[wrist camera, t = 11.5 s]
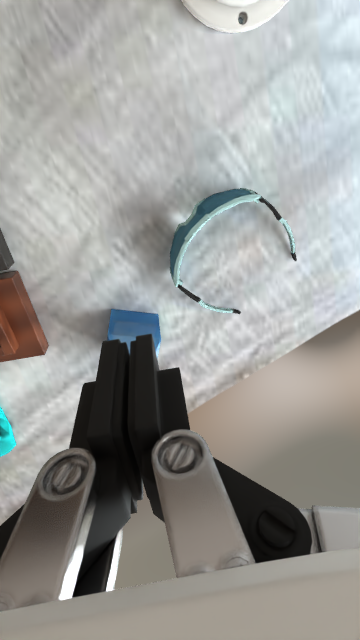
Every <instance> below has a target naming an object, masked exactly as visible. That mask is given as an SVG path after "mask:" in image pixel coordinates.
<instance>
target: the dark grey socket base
mask: <svg viewBox="0 0 360 640" xmlns="http://www.w3.org/2000/svg"><path fill="white" fill-rule="evenodd" d="M13 264H14V260H13V258H12V256H11V253H10V251H9V248H8V246H7V244H6V241H5V239H4V236H3V234H2V231H1V229H0V271H1V270H7V269H9V268H10V267H11V266H12V265H13Z"/></svg>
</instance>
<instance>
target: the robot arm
mask: <svg viewBox="0 0 360 640" xmlns="http://www.w3.org/2000/svg"><path fill="white" fill-rule="evenodd" d="M181 1H182V3H183V4H184V5H185V7H186V8H187V9H188V10H189V11H190V12H191V14H192V15H193V16H194V17H195V18H197V19H198V20H199V21H201V22H202V23H203V24H204V25H206V26H208V27H210V28H213V29H215V30H217V31H221V32H227V33H240V32H246V31H249V30H252V29H255V28H257V27H259V26H260V25H262V24H264V23H265V22H267V21H268V20H270V19H271V18H272V17H273V16H274V15H276V14H277V13H278V12H279V11H280V10H281V9H282V7H283V6H284V5H285V4H286V3H287V2H288V1H289V0H181ZM239 17H240V18H242V20H243V22H242V24H240V23H239V22H238V18H239ZM143 484H144V487H145V490H146V494H147V497H148V498H149V500H150V504H151V507H152V510H153V513H154V515H156V516H157V517H158V518H159V519H161V520H162V521H163V522H164V523H165V525H166V530H167V535H168V540H169V544H170V549H171V554H172V558H173V563H174V568H175V572H176V577H177V578H175V579H170V580H164V581H159V582H153V583H149V584H143V585H138V586H132V587H127V588H123V589H116V590H114V584H115V578H116V573H117V567H118V561H119V555H120V549H121V544H122V537H123V529H122V528H123V526H124V525H125V524H126V523H127V522H128V520H129V519H130V516H131V514H132V513H137V500H142V499H143ZM0 640H360V508H344V507H328V506H312V509H298V508H296V507H295V506H294V505H292V504H291V503H289V502H288V501H286V500H285V499H283V498H281V497H280V496H278V495H276V494H275V493H273V492H271V491H269V490H268V489H266V488H264V487H262V486H261V485H259V484H258V483H256V482H254V481H252V480H251V479H249V478H247V477H246V476H244V475H242V474H241V473H239V472H237V471H235V470H234V469H232V468H230V467H229V466H227V465H225V464H224V463H222V462H220V461H219V460H217V459H215V458H213V457H212V455H211V453H210V450H209V448H208V445H207V443H206V442H205V440H204V439H203V437H201V436H200V435H199V434H197V433H195V432H193V431H190V426H189V421H188V415H187V409H186V403H185V397H184V392H183V386H182V380H181V374H180V369H179V367H178V368H172V369H166V370H160V371H159V366H158V361H157V356H156V351H155V346H154V341H153V336H152V334H146V335H140V336H136V340H135V341H131V342H130V354H129V350H128V346H127V343H126V342H123V343H121V341H120V339H115V340H109V341H103V343H102V348H101V354H100V360H99V366H98V371H97V377H96V381H94V382H88V383H85V384H84V385H83V387H82V392H81V396H80V401H79V405H78V410H77V414H76V419H75V424H74V428H73V433H72V437H71V442H70V447H69V449H66V450H64V451H61V452H59V453H57V454H56V455H54V456H53V457H52V458H50V459H49V460H48V461H47V462H46V463H45V464H44V465H43V467H42V469H41V470H40V472H39V474H38V476H37V478H36V480H35V482H34V485H33V487H32V489H31V491H30V494H29V496H28V498H27V500H26V503H25V504H24V505H23V506H22V507H21V508H20V509H18V510H17V511H16V512H15V513H14V514H13V515H12V516H11V517H10V518H8V519H7V520H6V521H5V522H4V523H3V524H2V525H1V526H0Z"/></svg>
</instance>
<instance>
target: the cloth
mask: <svg viewBox="0 0 360 640" xmlns="http://www.w3.org/2000/svg"><path fill="white" fill-rule="evenodd" d="M15 445H16V442H15V439H14V436H13V432H12V428H11V425H10V423H9V422H8V420H7V418H6V416H5V414H4V412H3V410H2V408H1V407H0V457H1V456H3V455H5V454H7V453H9V452H10V451H11V450H12V449H13V448H14V447H15Z"/></svg>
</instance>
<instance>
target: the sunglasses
mask: <svg viewBox="0 0 360 640" xmlns="http://www.w3.org/2000/svg"><path fill="white" fill-rule="evenodd" d="M251 201H255V202H256V203H257V204H258V202H259V201H260V202H262V203H265V204H266V205H267V206H268V207H269V208H270V209H271V211H272V212H273V213H274V215H275V217H276V219H277V220H278V221H279V222H281V223H282V224H283V225H284V227H285V229H286V231H287V233H288V236H289V239H290V247H291V254H292V258H293V259H294V260H295V261H296V260H297V259H296V254H295V243H294V239H293V235H292V231H291V229H290V227H289V225H288V223H287V221H286V220H284V219H283V218H282V217H281V216H280V215H279V213H278V212H277V211H276V209H275V208H274V207H273V206H272V205H271V204H270V203H269V202H268V201H267V200H265V199H264V198H263V197H261V195H259V194H257V193H256V192H255V191H252V190H248V189H244V188H240V189H233V190H229V191H225V192H221V193H217V194H214V195H212V196H210V197H208V198H206V199H203V200H202V201H200V202H199V203H198V204H196V205H195V207H194V209H193V212H192V215H191V216H190V217H189V218H188V219H187V220H186V222H183V223H181V224H179V225H178V227H177V229H176V231H175V233H174V234H175V235H174V239H173V243H172V247H171V251H170V273H171V276H172V279H173V281H174V284H175V287H178V288H179V289H180V290H181V291H183V292H184V293H185V294H186V295H188V296H189V297H190V298H192V299H193V300H195V301H196V302H198V303H199V304H200V305H201V306H202V307H204V308H208V309H211V310H214V311H217V312H224V313H238V314H240V313H241V312H240V311H239V310H236V309H226V308H218V307H214V306H211V305H209V304H206V303H205V302H204V301H202V300H201V299H200V298H199V297H197V296H195V295H194V294H192V293H191V292H189V291H188V290H186V289H185V288H184V287H182V284H183V282H182V280H181V279H180V278H179V276H180V265H181V262H182V258H183V255H184V253H185V251H186V249H187V247H188V245H189V243H190V241H191V240H192V238H193V237H194V236H195V235H196V234H197V232H198V231H199V230H200V229H201V228H202V227H203V226H204V225H205V224H206V223H207V222H208V221H209V220H210V219H211V218H213V217H214V216H216V215H217V214H219V213H221V212H223V211H225V210H227V209H229V208H231V207H233V206H235V205H237V204H240V203H243V202H251Z"/></svg>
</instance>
